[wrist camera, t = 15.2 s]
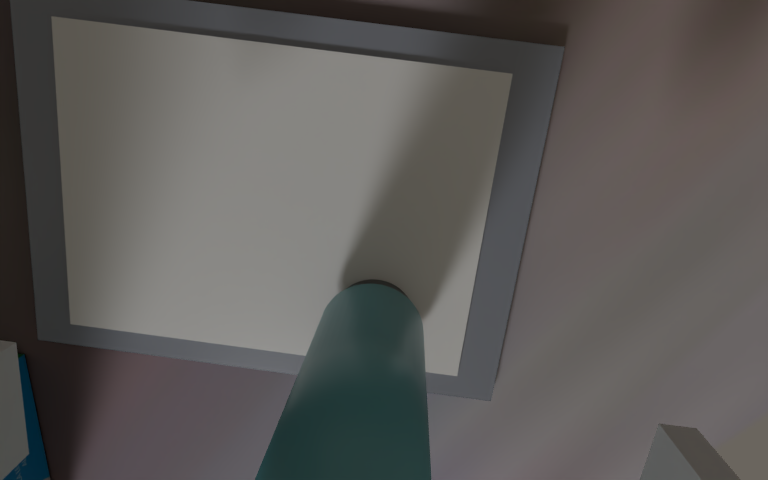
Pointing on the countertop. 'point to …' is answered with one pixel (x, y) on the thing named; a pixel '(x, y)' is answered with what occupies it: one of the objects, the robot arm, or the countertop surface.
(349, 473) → the teal and grey cylinder
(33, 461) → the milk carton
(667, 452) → the robot arm
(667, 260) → the countertop surface
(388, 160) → the writing board
